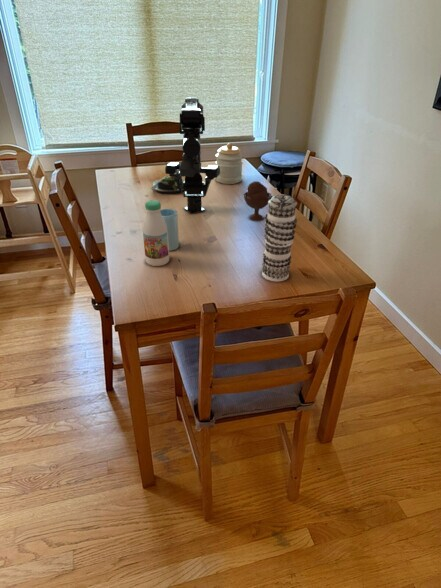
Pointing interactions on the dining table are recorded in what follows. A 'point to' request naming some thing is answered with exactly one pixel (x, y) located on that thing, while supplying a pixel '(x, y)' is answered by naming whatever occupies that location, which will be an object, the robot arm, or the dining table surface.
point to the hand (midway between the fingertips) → (193, 193)
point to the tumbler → (171, 227)
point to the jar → (229, 164)
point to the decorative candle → (279, 237)
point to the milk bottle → (155, 235)
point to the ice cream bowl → (256, 198)
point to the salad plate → (166, 186)
